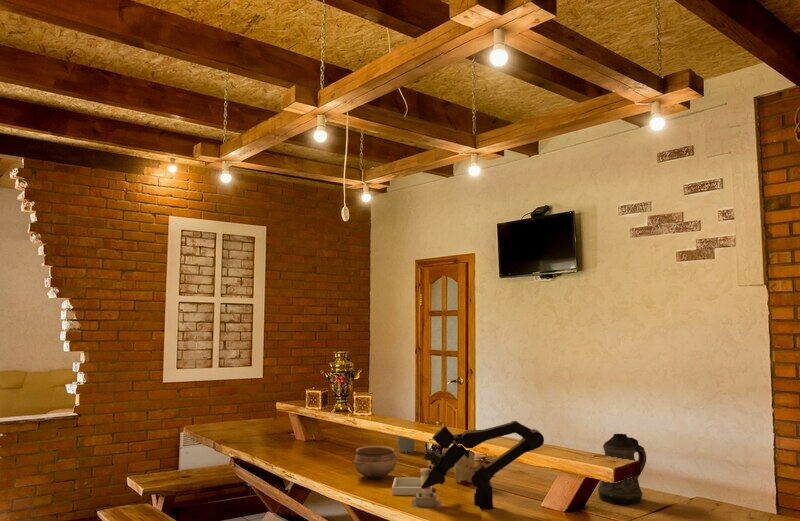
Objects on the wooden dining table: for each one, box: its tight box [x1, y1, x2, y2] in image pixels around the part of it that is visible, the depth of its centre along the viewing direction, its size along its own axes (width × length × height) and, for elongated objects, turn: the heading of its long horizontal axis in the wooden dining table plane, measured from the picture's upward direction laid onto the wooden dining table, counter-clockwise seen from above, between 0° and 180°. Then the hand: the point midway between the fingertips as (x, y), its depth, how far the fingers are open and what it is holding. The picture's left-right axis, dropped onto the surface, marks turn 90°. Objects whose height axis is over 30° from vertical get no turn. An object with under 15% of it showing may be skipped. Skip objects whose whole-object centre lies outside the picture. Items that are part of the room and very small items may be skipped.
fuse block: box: [410, 491, 442, 509], centre depth 238 cm, size 11×10×5 cm
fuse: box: [419, 467, 431, 497], centre depth 238 cm, size 4×4×12 cm
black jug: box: [597, 433, 647, 506], centre depth 247 cm, size 16×19×25 cm
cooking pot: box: [351, 445, 398, 480], centre depth 281 cm, size 25×19×12 cm
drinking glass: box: [397, 435, 416, 453], centre depth 337 cm, size 10×10×12 cm
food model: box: [453, 451, 476, 485], centre depth 271 cm, size 10×7×20 cm
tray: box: [391, 477, 433, 496], centre depth 257 cm, size 16×16×4 cm
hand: (422, 486), depth 238 cm, fingers closed on fuse, 4 cm apart
